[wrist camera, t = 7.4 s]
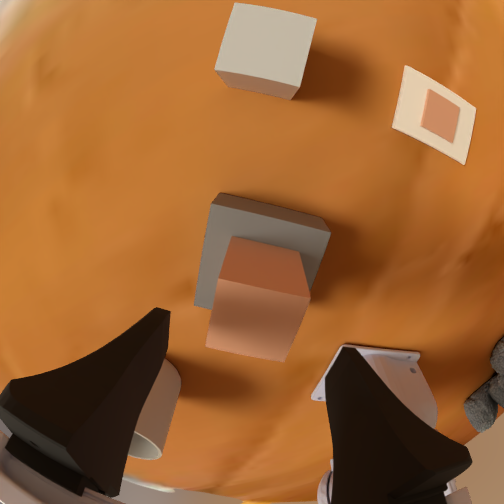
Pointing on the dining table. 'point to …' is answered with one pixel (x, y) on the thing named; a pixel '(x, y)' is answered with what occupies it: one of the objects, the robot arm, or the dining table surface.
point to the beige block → (265, 50)
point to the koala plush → (488, 394)
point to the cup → (156, 415)
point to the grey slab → (257, 238)
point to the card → (434, 115)
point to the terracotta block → (258, 300)
